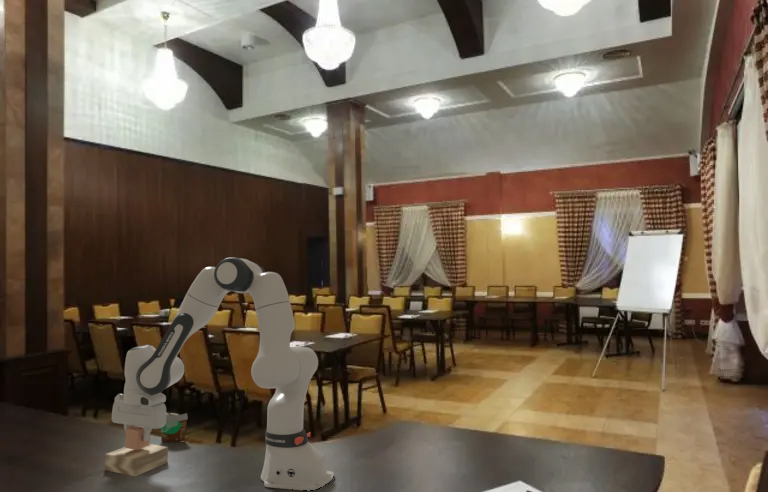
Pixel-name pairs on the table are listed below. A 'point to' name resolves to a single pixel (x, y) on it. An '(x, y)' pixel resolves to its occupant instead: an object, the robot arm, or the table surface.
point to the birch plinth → (136, 459)
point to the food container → (174, 427)
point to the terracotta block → (135, 438)
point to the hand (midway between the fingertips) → (137, 439)
